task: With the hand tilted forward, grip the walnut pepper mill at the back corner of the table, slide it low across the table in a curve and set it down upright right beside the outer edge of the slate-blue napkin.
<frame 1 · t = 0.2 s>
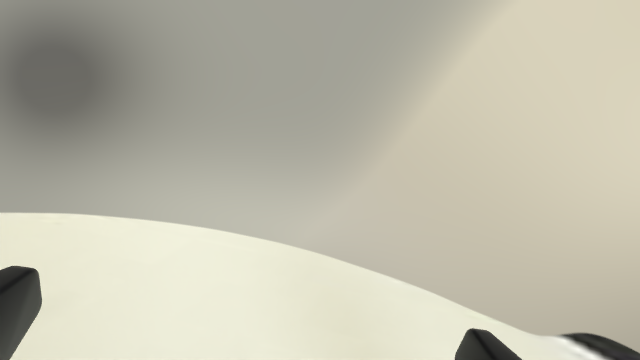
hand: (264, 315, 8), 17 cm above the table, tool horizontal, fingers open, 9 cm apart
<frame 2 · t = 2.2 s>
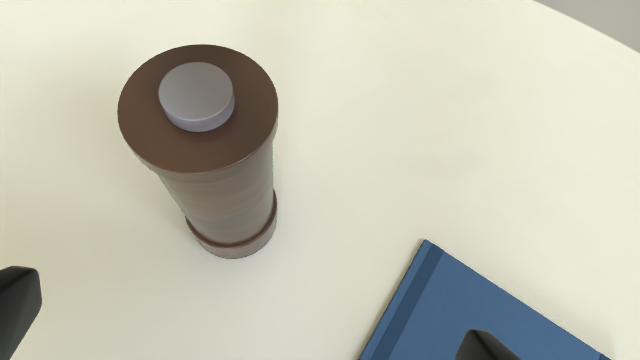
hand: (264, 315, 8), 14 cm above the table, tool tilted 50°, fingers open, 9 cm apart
pepper mill: (235, 218, 23), on the table
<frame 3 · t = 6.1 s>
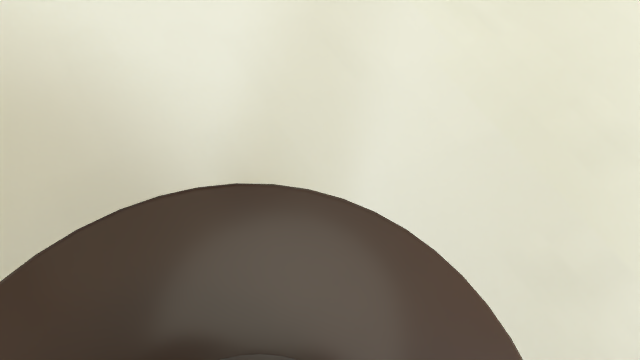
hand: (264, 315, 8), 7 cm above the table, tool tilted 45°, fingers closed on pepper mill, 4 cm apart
pepper mill: (251, 356, 13), on the table, touching gripper
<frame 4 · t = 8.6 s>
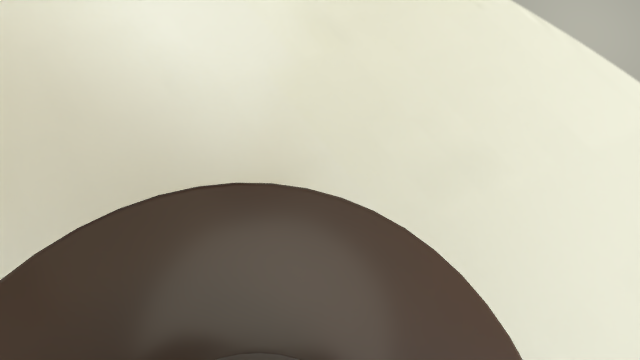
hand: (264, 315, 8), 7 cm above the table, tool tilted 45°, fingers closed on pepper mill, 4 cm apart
pepper mill: (251, 356, 13), point 1 cm above the table, touching gripper
when the fingers open (7 cm above the table, at t = 11.3 s): pepper mill stays where it is, on the table.
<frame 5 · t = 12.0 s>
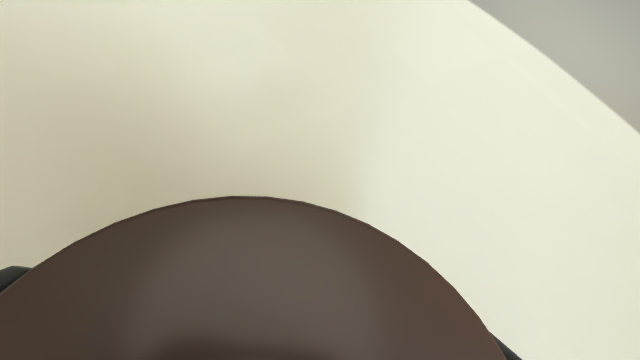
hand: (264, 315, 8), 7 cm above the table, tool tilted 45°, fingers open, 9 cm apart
pepper mill: (250, 359, 13), on the table
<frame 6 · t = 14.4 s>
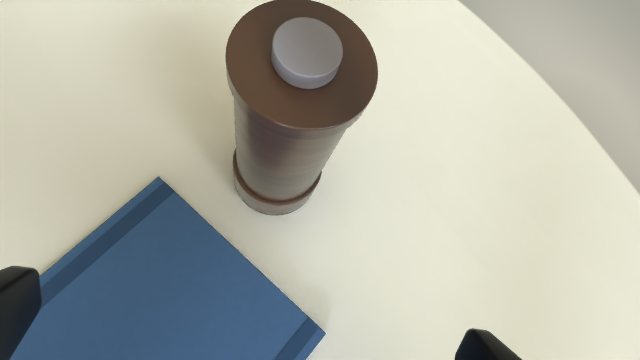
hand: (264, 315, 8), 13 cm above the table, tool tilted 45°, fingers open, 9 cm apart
pepper mill: (275, 176, 23), on the table
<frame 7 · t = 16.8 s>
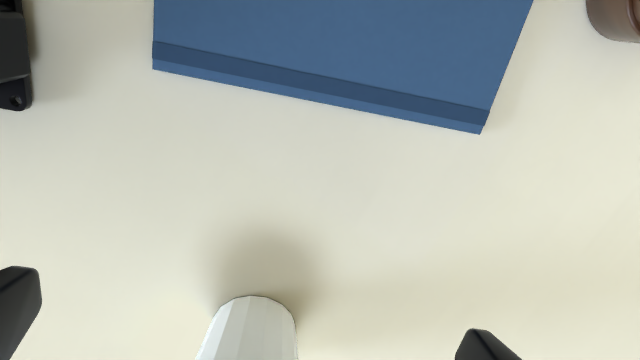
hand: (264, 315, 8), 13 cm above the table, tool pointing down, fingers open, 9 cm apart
white cylinder: (254, 325, 25), on the table
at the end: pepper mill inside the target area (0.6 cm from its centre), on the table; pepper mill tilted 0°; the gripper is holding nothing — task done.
